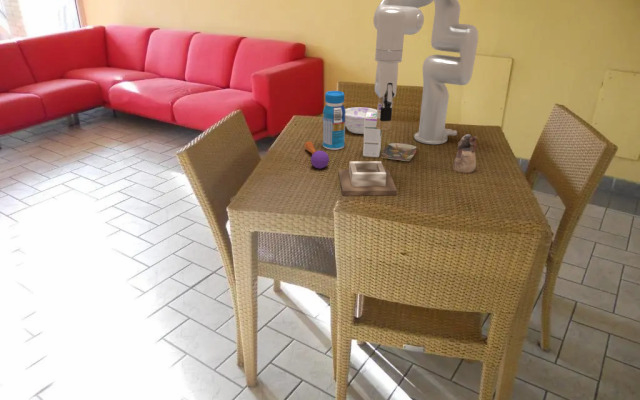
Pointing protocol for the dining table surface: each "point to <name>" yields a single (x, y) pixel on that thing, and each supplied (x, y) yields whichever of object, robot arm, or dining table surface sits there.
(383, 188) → the socket board
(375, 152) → the syrup box
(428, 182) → the dining table surface
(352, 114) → the paper bowls
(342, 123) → the beverage bottle
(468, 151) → the figurine
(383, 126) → the sprinkles bottle
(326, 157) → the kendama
